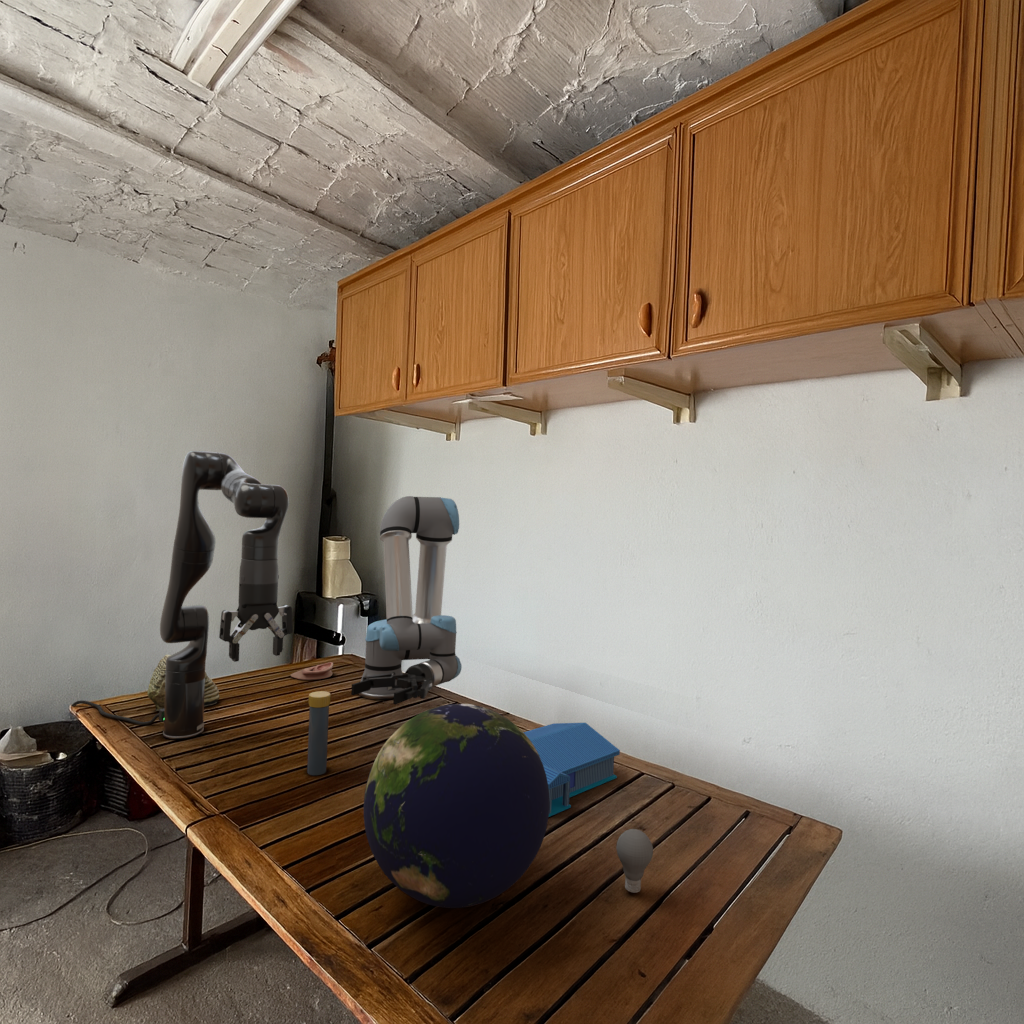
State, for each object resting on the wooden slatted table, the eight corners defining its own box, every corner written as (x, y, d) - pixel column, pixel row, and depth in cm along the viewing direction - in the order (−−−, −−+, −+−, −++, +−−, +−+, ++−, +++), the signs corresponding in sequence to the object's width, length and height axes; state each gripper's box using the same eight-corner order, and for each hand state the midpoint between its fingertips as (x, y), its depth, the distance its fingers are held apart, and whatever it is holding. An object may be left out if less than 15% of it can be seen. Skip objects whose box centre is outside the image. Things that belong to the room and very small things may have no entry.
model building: (501, 837, 120) (504, 785, 120) (427, 790, 139) (429, 744, 138) (628, 782, 147) (630, 739, 147) (552, 748, 165) (553, 710, 165)
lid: (314, 700, 148) (314, 690, 148) (333, 702, 148) (334, 692, 147) (304, 706, 144) (304, 696, 143) (324, 708, 143) (324, 698, 143)
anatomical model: (285, 666, 217) (303, 658, 228) (285, 677, 217) (303, 669, 228) (321, 670, 214) (337, 661, 225) (321, 681, 214) (337, 673, 225)
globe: (319, 919, 95) (326, 721, 95) (420, 827, 123) (427, 673, 122) (502, 984, 84) (511, 760, 83) (568, 867, 112) (576, 698, 111)
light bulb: (610, 879, 108) (613, 822, 108) (644, 879, 109) (647, 822, 109) (619, 902, 102) (622, 840, 102) (655, 901, 103) (658, 840, 103)
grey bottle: (312, 766, 148) (315, 692, 148) (329, 768, 148) (332, 694, 147) (303, 774, 144) (306, 698, 144) (321, 776, 143) (324, 699, 143)
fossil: (144, 707, 182) (145, 655, 182) (212, 696, 194) (213, 647, 194) (151, 716, 175) (153, 662, 175) (221, 703, 188) (223, 653, 188)
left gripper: (284, 576, 139) (281, 649, 139) (216, 579, 129) (213, 658, 130) (299, 580, 134) (296, 656, 134) (230, 584, 124) (227, 667, 124)
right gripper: (459, 697, 173) (413, 718, 154) (387, 682, 184) (335, 700, 165) (460, 669, 173) (414, 687, 154) (388, 657, 184) (336, 672, 165)
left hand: (256, 657), depth 132 cm, fingers open, 8 cm apart
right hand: (373, 694), depth 159 cm, fingers open, 13 cm apart
